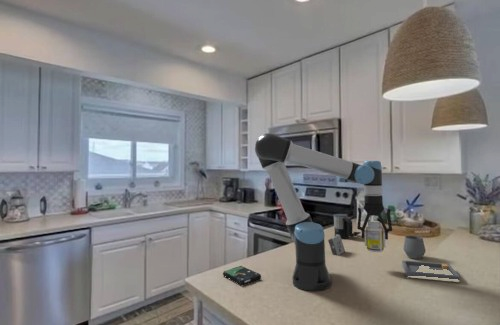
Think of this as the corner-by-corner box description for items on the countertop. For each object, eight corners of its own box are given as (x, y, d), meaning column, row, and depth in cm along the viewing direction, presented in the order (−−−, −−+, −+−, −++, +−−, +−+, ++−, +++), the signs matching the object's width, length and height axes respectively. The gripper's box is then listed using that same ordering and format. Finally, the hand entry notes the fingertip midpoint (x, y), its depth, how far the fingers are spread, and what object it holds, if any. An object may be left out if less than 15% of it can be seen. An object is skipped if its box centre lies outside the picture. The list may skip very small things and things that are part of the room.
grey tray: (407, 277, 114) (406, 271, 115) (402, 265, 128) (402, 260, 128) (460, 283, 108) (459, 276, 108) (449, 269, 122) (449, 264, 122)
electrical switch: (338, 256, 146) (336, 238, 147) (329, 255, 149) (327, 237, 150) (345, 251, 153) (342, 234, 154) (336, 251, 157) (334, 234, 157)
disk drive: (261, 280, 119) (241, 271, 131) (261, 274, 119) (240, 265, 131) (242, 287, 113) (222, 277, 124) (241, 280, 113) (222, 270, 124)
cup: (404, 259, 137) (403, 238, 137) (403, 253, 145) (402, 234, 146) (427, 261, 133) (426, 240, 133) (424, 255, 141) (423, 235, 142)
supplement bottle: (376, 247, 130) (375, 220, 130) (387, 251, 123) (386, 222, 124) (363, 249, 128) (362, 221, 129) (373, 253, 122) (372, 223, 122)
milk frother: (331, 237, 185) (330, 215, 185) (343, 233, 195) (342, 211, 196) (351, 241, 174) (350, 217, 175) (363, 236, 185) (362, 213, 185)
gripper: (397, 194, 126) (398, 245, 126) (350, 193, 134) (351, 242, 133) (398, 196, 119) (400, 250, 119) (349, 195, 127) (351, 246, 126)
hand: (374, 245), depth 126 cm, fingers closed on supplement bottle, 7 cm apart
